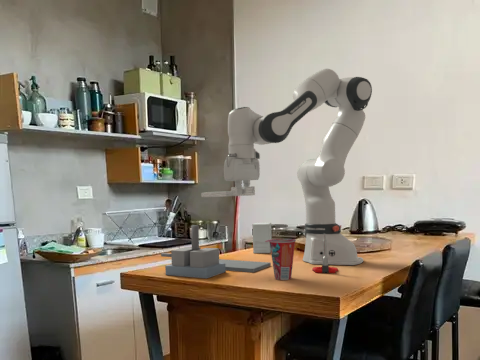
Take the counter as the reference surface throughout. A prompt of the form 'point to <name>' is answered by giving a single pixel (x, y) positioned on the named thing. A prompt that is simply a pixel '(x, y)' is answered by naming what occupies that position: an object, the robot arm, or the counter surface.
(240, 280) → the counter surface
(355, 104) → the robot arm
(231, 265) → the mat
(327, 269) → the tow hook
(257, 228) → the supplement box
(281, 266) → the cup
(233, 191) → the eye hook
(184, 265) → the vise
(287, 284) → the counter surface
